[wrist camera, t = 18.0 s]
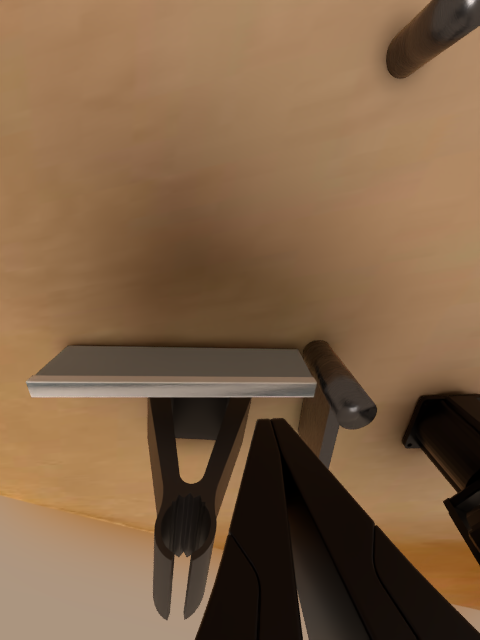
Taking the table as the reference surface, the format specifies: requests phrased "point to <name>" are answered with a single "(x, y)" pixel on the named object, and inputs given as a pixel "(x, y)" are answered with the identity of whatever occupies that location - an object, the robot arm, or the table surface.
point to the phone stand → (190, 486)
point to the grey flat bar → (173, 373)
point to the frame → (324, 365)
